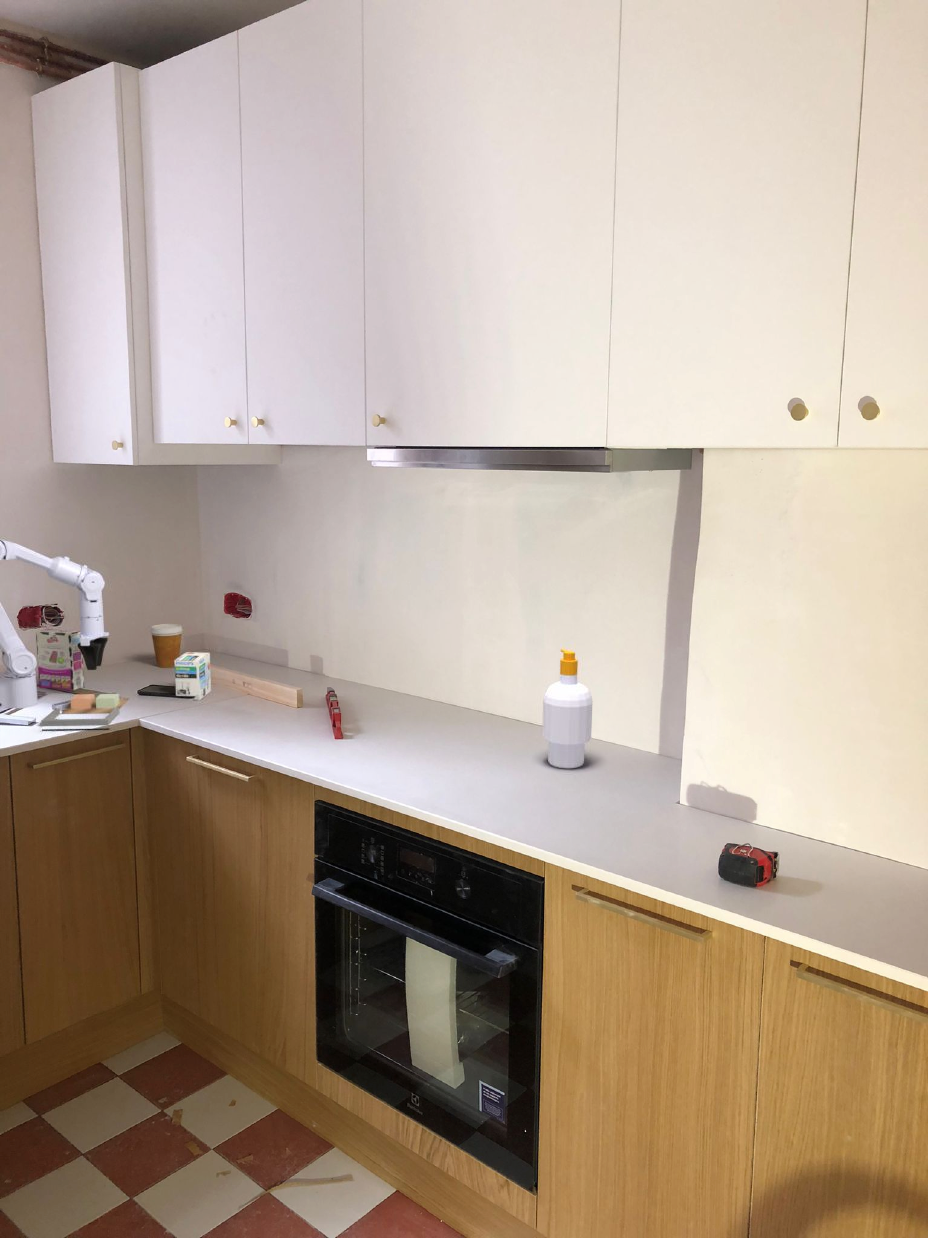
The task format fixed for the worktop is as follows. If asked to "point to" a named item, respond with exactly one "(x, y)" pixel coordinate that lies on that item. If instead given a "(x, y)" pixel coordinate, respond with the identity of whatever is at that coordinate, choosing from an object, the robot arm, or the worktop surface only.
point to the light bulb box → (193, 675)
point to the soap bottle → (567, 716)
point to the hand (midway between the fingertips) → (94, 667)
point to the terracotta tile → (82, 701)
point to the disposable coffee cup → (166, 643)
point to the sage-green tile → (107, 701)
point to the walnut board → (94, 709)
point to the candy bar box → (59, 659)
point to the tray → (76, 721)
